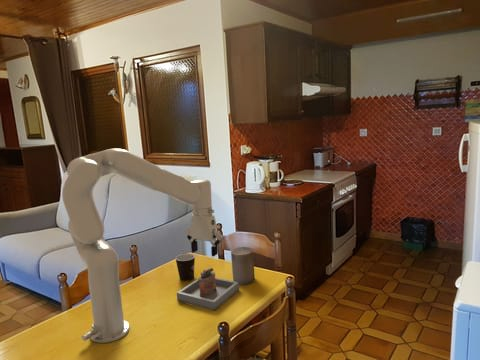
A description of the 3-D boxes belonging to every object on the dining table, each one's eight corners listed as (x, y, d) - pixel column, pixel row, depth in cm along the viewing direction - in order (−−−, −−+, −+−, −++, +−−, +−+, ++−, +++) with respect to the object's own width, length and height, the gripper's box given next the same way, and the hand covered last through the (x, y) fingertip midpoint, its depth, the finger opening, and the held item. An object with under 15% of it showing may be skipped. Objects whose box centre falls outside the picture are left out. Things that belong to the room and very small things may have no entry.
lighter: (203, 298, 142) (201, 274, 141) (197, 295, 145) (195, 272, 143) (218, 290, 148) (216, 267, 146) (212, 288, 150) (211, 265, 149)
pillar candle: (256, 275, 163) (253, 243, 160) (253, 285, 153) (251, 251, 151) (234, 275, 164) (232, 244, 162) (231, 285, 155) (228, 251, 152)
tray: (214, 310, 134) (214, 302, 134) (177, 301, 144) (176, 292, 143) (239, 290, 150) (238, 282, 149) (203, 282, 159) (203, 274, 158)
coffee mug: (186, 272, 170) (185, 252, 168) (200, 276, 165) (198, 255, 163) (168, 282, 161) (166, 261, 159) (182, 286, 156) (180, 264, 154)
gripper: (226, 211, 140) (228, 253, 142) (190, 207, 148) (193, 247, 151) (215, 215, 133) (217, 260, 136) (178, 211, 142) (181, 253, 145)
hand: (204, 253), depth 143 cm, fingers open, 9 cm apart
